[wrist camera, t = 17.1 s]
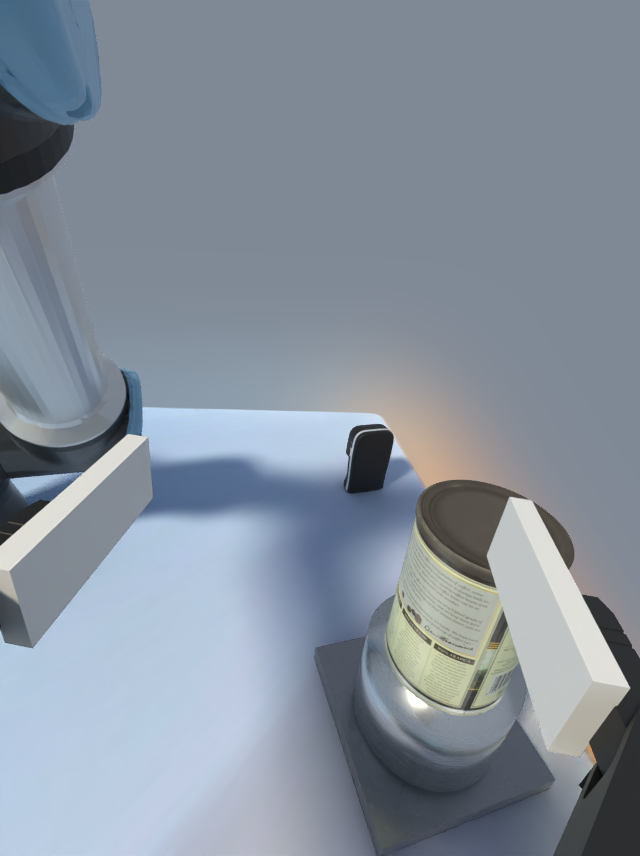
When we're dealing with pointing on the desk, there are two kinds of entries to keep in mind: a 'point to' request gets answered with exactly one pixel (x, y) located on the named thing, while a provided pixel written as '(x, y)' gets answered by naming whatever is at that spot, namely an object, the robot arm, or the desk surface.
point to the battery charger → (368, 457)
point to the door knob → (422, 746)
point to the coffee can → (456, 600)
